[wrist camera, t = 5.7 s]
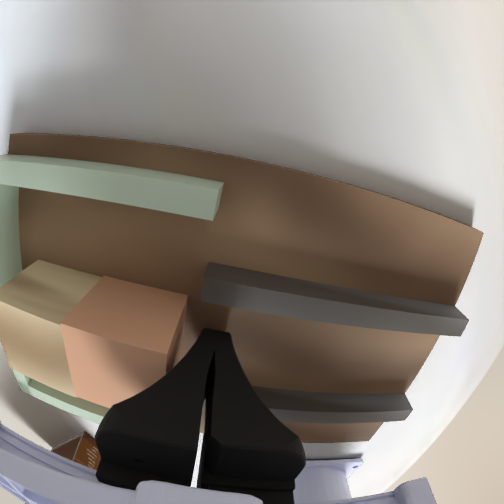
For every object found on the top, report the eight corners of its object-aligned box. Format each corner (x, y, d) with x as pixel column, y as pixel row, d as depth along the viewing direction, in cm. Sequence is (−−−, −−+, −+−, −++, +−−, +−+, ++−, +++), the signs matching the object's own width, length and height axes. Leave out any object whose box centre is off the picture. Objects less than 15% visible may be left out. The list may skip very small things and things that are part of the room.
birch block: (106, 344, 14) (76, 397, 10) (46, 324, 13) (9, 367, 10) (104, 277, 12) (60, 325, 9) (38, 259, 12) (-11, 295, 8)
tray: (185, 421, 16) (181, 446, 14) (33, 371, 15) (20, 390, 13) (223, 182, 11) (218, 190, 9) (8, 154, 10) (-19, 158, 8)
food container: (92, 478, 22) (72, 543, 13) (48, 449, 21) (20, 514, 11) (149, 464, 20) (129, 557, 10) (91, 427, 18) (53, 524, 9)
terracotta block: (179, 362, 14) (163, 423, 10) (106, 343, 14) (75, 396, 10) (188, 295, 13) (167, 354, 9) (104, 275, 12) (60, 322, 8)
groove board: (365, 430, 18) (373, 456, 16) (43, 372, 16) (27, 394, 14) (472, 227, 13) (501, 242, 10) (22, 133, 11) (-10, 135, 8)
